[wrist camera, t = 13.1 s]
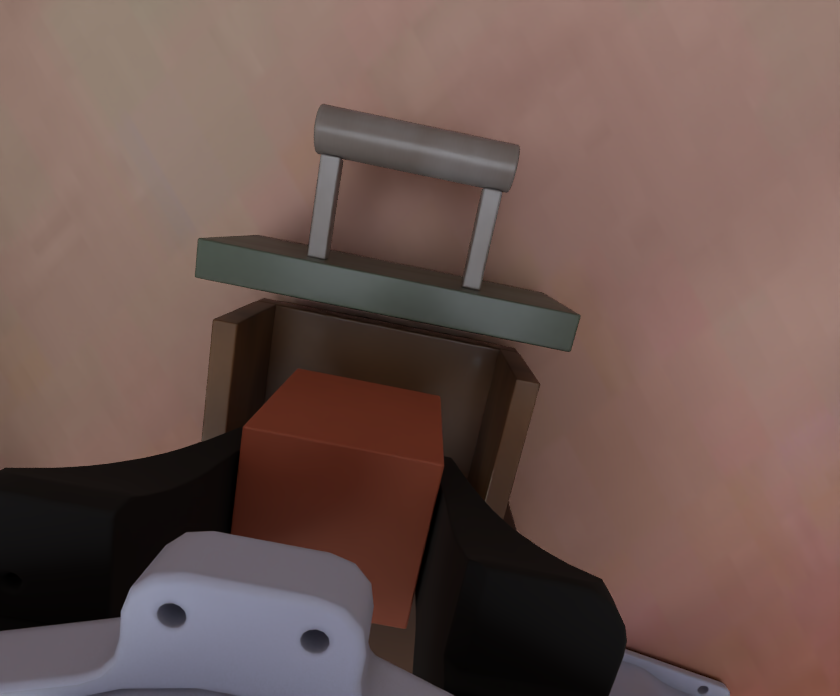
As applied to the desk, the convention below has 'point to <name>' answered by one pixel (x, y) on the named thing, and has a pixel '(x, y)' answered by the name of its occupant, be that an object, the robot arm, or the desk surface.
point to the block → (345, 478)
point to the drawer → (388, 305)
